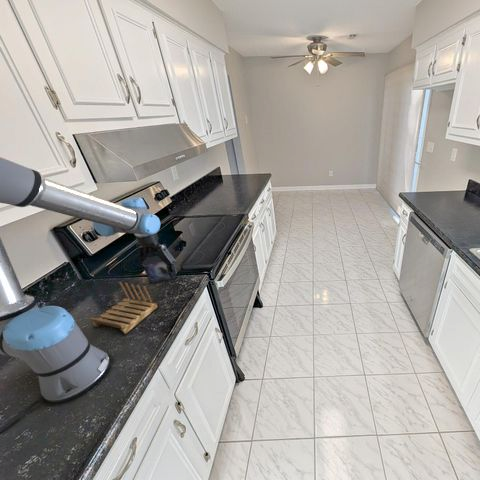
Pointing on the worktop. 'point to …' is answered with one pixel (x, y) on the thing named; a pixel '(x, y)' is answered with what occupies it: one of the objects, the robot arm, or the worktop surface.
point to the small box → (156, 269)
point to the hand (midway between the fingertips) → (163, 275)
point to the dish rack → (127, 310)
